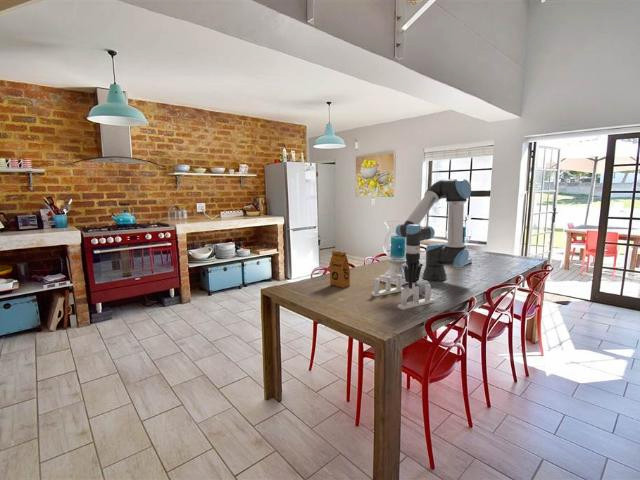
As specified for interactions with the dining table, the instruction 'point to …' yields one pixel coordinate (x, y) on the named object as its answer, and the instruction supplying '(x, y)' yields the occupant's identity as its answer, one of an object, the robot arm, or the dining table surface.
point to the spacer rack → (403, 293)
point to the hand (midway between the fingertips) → (411, 293)
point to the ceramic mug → (422, 287)
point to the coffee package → (339, 270)
